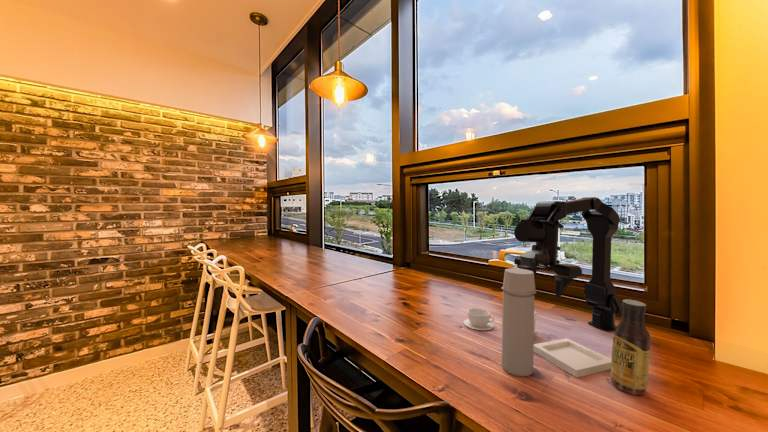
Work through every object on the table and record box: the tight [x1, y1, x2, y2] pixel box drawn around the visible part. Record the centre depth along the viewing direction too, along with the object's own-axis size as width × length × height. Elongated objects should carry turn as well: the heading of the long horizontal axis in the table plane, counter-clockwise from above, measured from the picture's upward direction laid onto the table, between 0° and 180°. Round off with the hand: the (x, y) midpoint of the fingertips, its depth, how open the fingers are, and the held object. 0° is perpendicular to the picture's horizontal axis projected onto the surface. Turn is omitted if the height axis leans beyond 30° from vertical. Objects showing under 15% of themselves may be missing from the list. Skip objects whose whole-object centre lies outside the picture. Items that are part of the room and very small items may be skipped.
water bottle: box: [500, 267, 537, 378], centre depth 70 cm, size 9×8×25 cm
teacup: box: [463, 307, 495, 331], centre depth 96 cm, size 10×10×5 cm
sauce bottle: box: [610, 299, 651, 396], centre depth 62 cm, size 6×6×20 cm
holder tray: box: [533, 337, 612, 378], centre depth 75 cm, size 13×13×2 cm
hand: (543, 293), depth 85 cm, fingers open, 9 cm apart
